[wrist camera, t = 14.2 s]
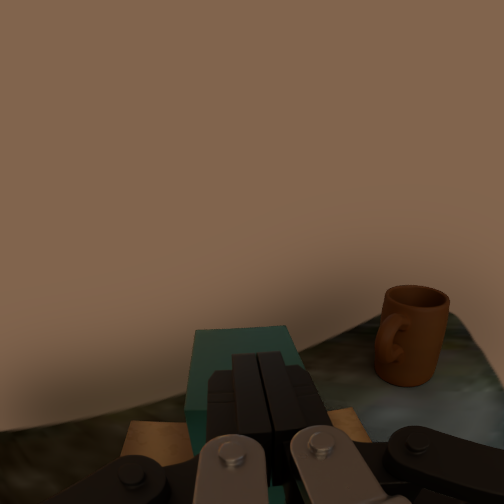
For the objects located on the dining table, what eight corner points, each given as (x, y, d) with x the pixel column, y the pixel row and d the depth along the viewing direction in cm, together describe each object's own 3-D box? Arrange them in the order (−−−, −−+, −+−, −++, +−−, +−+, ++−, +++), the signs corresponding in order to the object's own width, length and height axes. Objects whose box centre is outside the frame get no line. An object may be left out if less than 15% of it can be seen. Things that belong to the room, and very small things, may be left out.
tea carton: (182, 410, 11) (194, 329, 18) (211, 527, 13) (210, 449, 21) (321, 400, 12) (286, 324, 19) (300, 519, 14) (281, 444, 21)
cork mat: (110, 512, 14) (105, 506, 14) (133, 427, 24) (131, 420, 23) (392, 491, 16) (395, 484, 15) (350, 414, 25) (352, 406, 25)
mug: (399, 421, 23) (423, 333, 21) (337, 392, 29) (347, 309, 27) (442, 366, 31) (458, 293, 29) (391, 348, 36) (401, 280, 34)
